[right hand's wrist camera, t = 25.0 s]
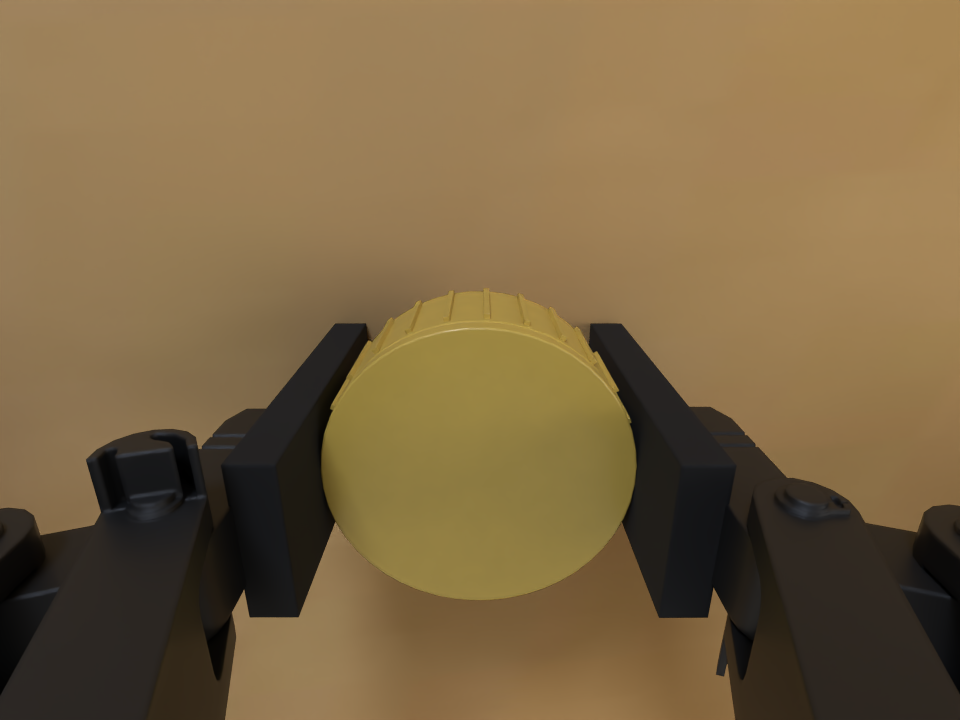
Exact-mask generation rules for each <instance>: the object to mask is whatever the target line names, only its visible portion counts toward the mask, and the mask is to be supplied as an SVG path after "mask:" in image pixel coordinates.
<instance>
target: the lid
mask: <svg viewBox="0 0 960 720" xmlns="http://www.w3.org/2000/svg"><path fill="white" fill-rule="evenodd" d="M346 378H347V379H346V380H345V382H344V384H343V386H342V387H341V389H340V391H339V393H338V394H337V396H336V398H335V399H334V401H333V403H332V405H331V407H330V409H331V410H333V411H332V413H331V415H330V418H329V421H328V424H327V427H326V430H325V433H324V437H323V443H322V449H321V476H322V483H323V489H324V493H325V496H326V499H327V503H328V506H329V508H330V510H331V513H332V515H333V517H334V519H335V521H336V523H337V525H338V526H339V528H340V529H341V531H342V533H343V534H344V536H345V537H346V538H347V540H348V541H349V542H350V543H351V544H352V546H353V547H354V548H355V549H356V550H357V551H358V552H359V553H360V554H361V555H362V556H363V557H364V558H365V559H366V560H367V561H368V562H370V563H371V564H372V565H374V566H375V567H376V568H378V569H379V570H380V571H382V572H383V573H385V574H386V575H388V576H390V577H392V578H393V579H395V580H397V581H399V582H401V583H403V584H405V585H408V586H410V587H412V588H415V589H417V590H420V591H423V592H427V593H430V594H433V595H437V596H442V597H447V598H452V599H462V600H496V599H505V598H511V597H516V596H520V595H525V594H529V593H532V592H535V591H538V590H541V589H544V588H546V587H548V586H550V585H553V584H555V583H557V582H559V581H561V580H563V579H565V578H566V577H568V576H570V575H571V574H573V573H575V572H576V571H578V570H579V569H580V568H582V567H583V566H584V565H586V564H587V563H588V562H589V561H591V560H592V559H593V558H594V557H595V556H596V555H597V554H598V553H599V552H600V551H601V550H602V549H603V548H604V547H605V546H606V544H607V543H608V542H609V540H610V539H611V538H612V537H613V535H614V534H615V532H616V531H617V529H618V527H619V526H620V524H621V522H622V521H623V519H624V517H625V514H626V512H627V509H628V507H629V505H630V502H631V498H632V494H633V490H634V486H635V479H636V470H637V459H636V446H635V442H634V437H633V432H632V429H631V426H630V423H631V419H630V417H629V415H628V413H627V411H626V409H625V407H624V406H623V404H622V402H621V400H620V398H619V396H618V395H617V393H616V392H618V391H619V389H618V388H617V386H616V384H615V382H614V381H613V379H612V377H611V375H610V373H609V372H608V370H607V368H606V366H605V364H604V363H603V361H602V359H601V357H600V356H599V354H598V352H597V351H596V352H594V353H593V352H592V350H591V348H590V347H589V345H588V343H587V341H586V339H585V338H584V336H583V334H582V332H581V330H580V329H579V328H578V327H575V328H573V327H572V326H571V325H570V324H568V323H567V322H566V321H564V320H563V319H562V318H560V317H559V316H558V315H557V314H556V312H555V309H554V308H552V307H549V309H546V308H544V307H543V306H541V305H539V304H537V303H534V302H531V301H529V300H526V299H524V296H523V295H522V294H518V296H513V295H508V294H504V293H496V292H489V288H484V289H483V291H479V292H462V293H454V290H452V291H449V292H448V295H445V296H442V297H438V298H434V299H431V300H429V301H426V302H424V303H422V302H421V300H420V301H418V302H416V304H415V306H414V307H413V308H412V309H410V310H408V311H407V312H405V313H403V314H401V315H400V316H399V317H397V318H396V319H395V320H394V319H393V318H392V317H391V318H390V319H389V320H388V321H387V323H386V325H385V327H384V328H383V330H382V331H381V333H380V334H379V335H378V336H377V337H376V338H375V339H374V340H373V342H371V341H369V340H368V342H367V343H366V345H365V346H364V348H363V350H362V352H361V353H360V355H359V357H358V358H357V360H356V362H355V364H354V365H353V367H352V369H351V370H350V372H349V374H348V376H347V377H346Z"/></svg>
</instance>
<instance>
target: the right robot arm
mask: <svg viewBox="0 0 960 720" xmlns="http://www.w3.org/2000/svg"><path fill="white" fill-rule="evenodd" d="M366 343H367V330H366V324H335V325H334V326H333V327H332V328H331V330H330V331H329V332H328V333H327V335H326V336H325V337H324V338H323V340H322V341H321V342H320V343H319V345H318V346H317V347H316V348H315V349H314V351H313V352H312V353H311V354H310V356H309V357H308V358H307V359H306V361H305V362H304V363H303V364H302V365H301V367H300V368H299V369H298V370H297V372H296V373H295V374H294V375H293V377H292V378H291V379H290V380H289V381H288V383H287V384H286V385H285V386H284V388H283V389H282V390H281V391H280V393H279V394H278V395H277V396H276V397H275V399H274V400H273V401H272V402H271V404H270V405H269V406H268V407H267V409H246V410H244V411H242V412H240V413H238V414H237V415H235V416H233V417H231V418H229V419H228V420H226V421H225V422H224V423H223V424H222V425H221V426H220V427H219V428H218V429H217V430H216V432H215V433H214V434H213V437H210V438H209V439H208V440H207V441H206V442H205V443H204V445H203V446H202V449H199V450H198V446H197V441H196V437H195V436H193V435H192V434H190V433H189V432H187V431H181V430H175V429H162V430H151V431H146V432H141V433H135V434H132V435H129V436H126V437H123V438H120V439H117V440H114V441H112V442H110V443H108V444H106V445H105V446H103V447H101V448H99V449H97V450H96V451H95V452H94V453H93V454H92V455H90V456H89V457H88V458H87V459H86V462H87V465H88V468H89V472H90V475H91V479H92V482H93V486H94V489H95V493H96V496H97V499H98V503H99V506H100V510H101V514H100V516H99V518H98V519H97V521H96V523H95V525H92V526H88V527H83V528H78V529H72V530H67V531H62V532H56V533H51V534H46V535H40V533H39V530H38V527H37V524H36V521H35V518H34V515H32V514H31V513H29V512H28V511H26V510H25V509H15V508H3V509H0V720H225V715H226V708H227V700H228V693H229V686H230V678H231V671H232V664H233V657H234V649H235V642H236V632H235V625H234V621H233V616H232V611H233V609H234V607H235V605H236V604H237V602H238V600H239V598H240V596H241V594H242V592H243V590H245V595H246V600H247V605H248V611H249V616H250V617H299V615H300V612H301V610H302V607H303V604H304V602H305V599H306V597H307V594H308V591H309V589H310V586H311V584H312V581H313V578H314V576H315V573H316V571H317V568H318V565H319V563H320V560H321V558H322V555H323V552H324V550H325V547H326V545H327V542H328V539H329V537H330V534H331V532H332V529H333V526H334V524H335V519H334V517H333V515H332V513H331V510H330V508H329V506H328V503H327V499H326V496H325V493H324V489H323V483H322V476H321V449H322V443H323V437H324V433H325V430H326V427H327V424H328V421H329V418H330V415H331V413H332V411H333V410H331V409H330V407H331V405H332V403H333V401H334V399H335V398H336V396H337V394H338V393H339V391H340V389H341V387H342V386H343V384H344V382H345V380H346V379H347V378H346V377H347V376H348V374H349V372H350V370H351V369H352V367H353V365H354V364H355V362H356V360H357V358H358V357H359V355H360V353H361V352H362V350H363V348H364V346H365V345H366ZM589 347H590V348H591V350H592V352H593V353H594V352H596V351H597V352H598V354H599V356H600V357H601V359H602V361H603V363H604V364H605V366H606V368H607V370H608V372H609V373H610V375H611V377H612V379H613V381H614V382H615V384H616V386H617V388H618V389H619V391H618V392H616V393H617V395H618V396H619V398H620V400H621V402H622V404H623V406H624V407H625V409H626V411H627V413H628V415H629V417H630V419H631V423H630V426H631V429H632V432H633V437H634V442H635V446H636V459H637V470H636V479H635V486H634V490H633V494H632V498H631V502H630V505H629V507H628V509H627V512H626V514H625V517H624V519H623V521H622V523H623V526H624V529H625V531H626V534H627V536H628V539H629V541H630V544H631V547H632V549H633V552H634V554H635V557H636V560H637V562H638V565H639V567H640V570H641V572H642V575H643V578H644V580H645V583H646V585H647V588H648V591H649V593H650V596H651V598H652V601H653V603H654V606H655V609H656V611H657V614H658V616H659V618H708V614H709V608H710V603H711V598H712V593H713V587H714V589H715V591H716V593H717V594H718V596H719V598H720V600H721V602H722V604H723V606H724V607H725V609H726V611H727V613H728V616H727V621H726V625H725V630H724V635H723V640H722V645H721V650H720V655H719V659H718V665H717V672H716V675H720V676H724V674H725V669H726V665H727V664H728V670H729V677H730V684H731V692H732V699H733V706H734V713H735V720H960V506H956V505H941V506H933V507H931V508H930V509H928V510H927V511H925V512H924V514H923V517H922V520H921V523H920V526H919V529H918V532H912V531H906V530H901V529H895V528H890V527H884V526H879V525H873V524H868V523H865V522H864V520H863V518H862V517H861V515H860V513H859V511H858V510H857V509H856V508H855V507H854V506H853V505H852V504H851V502H850V501H849V500H847V499H846V498H844V497H842V496H841V495H839V494H838V493H836V492H835V491H833V490H831V489H828V488H826V487H823V486H821V485H818V484H816V483H813V482H808V481H804V480H800V479H795V478H787V477H786V476H785V475H784V474H783V473H782V472H781V471H780V470H779V469H778V468H777V467H776V466H775V465H774V463H773V462H772V461H771V460H770V459H769V458H768V457H767V456H766V455H765V454H764V453H763V452H762V451H761V450H760V448H759V447H755V443H754V442H753V441H752V440H751V439H750V438H749V437H748V436H747V435H745V432H744V431H743V430H742V429H741V428H740V427H739V426H738V425H737V424H736V423H735V422H734V421H733V420H732V419H731V418H729V417H728V416H726V415H724V414H722V413H720V412H719V411H717V410H715V409H713V408H711V407H689V406H688V405H687V404H686V403H685V401H684V400H683V399H682V398H681V396H680V395H679V394H678V393H677V392H676V390H675V389H674V388H673V387H672V385H671V384H670V383H669V382H668V380H667V379H666V378H665V377H664V376H663V374H662V373H661V372H660V371H659V369H658V368H657V367H656V366H655V365H654V363H653V362H652V361H651V360H650V358H649V357H648V356H647V355H646V353H645V352H644V351H643V350H642V349H641V347H640V346H639V345H638V344H637V342H636V341H635V340H634V339H633V338H632V336H631V335H630V334H629V333H628V331H627V330H626V329H625V328H624V326H623V325H622V324H591V326H590V339H589Z"/></svg>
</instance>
